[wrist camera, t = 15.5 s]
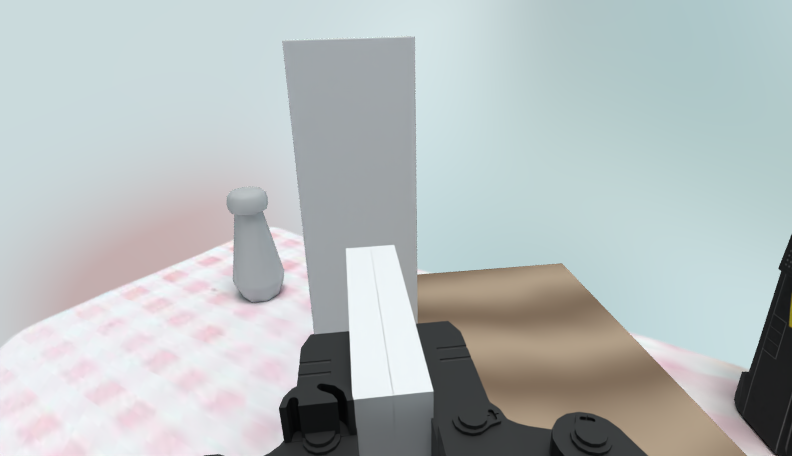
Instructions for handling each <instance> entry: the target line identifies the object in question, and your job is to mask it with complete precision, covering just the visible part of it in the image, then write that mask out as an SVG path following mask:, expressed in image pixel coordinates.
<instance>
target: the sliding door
mask: <svg viewBox="0 0 792 456" xmlns="http://www.w3.org/2000/svg"><path fill="white" fill-rule="evenodd" d="M282 43H283V51H284V61H285V69H286V79H287V89H288V98H289V107H290V116H291V125H292V135H293V143H294V152H295V162H296V171H297V180H298V190H299V199H300V208H301V217H302V226H303V236H304V245H305V254H306V263H307V273H308V282H309V291H310V300H311V309H312V319H313V328H314V334H323V333H334V332H345V331H349V309H348V286H347V263H346V248H359V247H372V246H386V245H395V249H396V253H397V257H398V260H399V264H400V268H401V272H402V275H403V279H404V283H405V287H406V290H407V294H408V298H409V301H410V305H411V309H412V313H413V316H414V320H415V324H418V305H417V209H416V109H415V108H416V107H415V37H411V36H404V37H403V36H402V37H373V38H372V37H369V38H336V39H305V40H304V39H301V40H285V41H282Z"/></svg>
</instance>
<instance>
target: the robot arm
mask: <svg viewBox="0 0 792 456" xmlns="http://www.w3.org/2000/svg"><path fill="white" fill-rule="evenodd" d="M346 263H347V286H348V309H349V331H345V332H334V333H323V334H312V335H310V336H309V338H308V339H307V341H306V342H305V343H304V345H303V346H302V347H301V354H300V365H299V372H298V381H297V387H295V388H293V389H291V390H290V391H289V392H288V393H287V394H286V395H285V396H284V397H283V400H282V402H281V404H280V407H279V411H280V417H281V424H282V430H283V436H284V441H283V442H282V443H281V445H280V446H279V447H277V448H276V449H274V450H273V451H272V452H270V453H269V454H267V455H265V456H648V455H647V454H646V453H645V452H644V451H643V450H642V449H641V448H640V447H638V446H637V445H636V444H635V443H634V442H633V441H632V440H631V439H630V438H629V437H628V436H627V435H626V434H625V433H624V432H623V431H622V430H621V429H620V428H618V427H617V426H616V425H614V424H613V423H611V422H610V421H609V420H607V419H605V418H602V417H600V416H597V415H595V414H591V413H584V412H574V413H567V414H565V415H563V416H561V417H560V418H558V419H557V420H556V422H555V424H554V425H553V427H552V429H546V428H539V427H533V426H527V425H523V424H519V423H516V422H514V421H511V420H509V419H507V418H506V417H505V415H504V414H503V412H502V411H501V410H500V408H498V407H497V406H495V405H494V404H492V403H491V402H490V401H489V399H488V397H487V394H486V392H485V389H484V387H483V384H482V382H481V380H480V377H479V375H478V372H477V370H476V367H475V365H474V362H473V360H472V359H471V355H470V353H469V350H468V348H467V347H466V343H465V341H464V338H463V336H462V333H461V331H460V330H458V329H457V328H456V327H455V326H454V325H453V324H451V323H450V322H449V321H440V322H429V323H418V324H415V320H414V316H413V313H412V309H411V305H410V301H409V298H408V294H407V290H406V287H405V283H404V279H403V275H402V272H401V268H400V264H399V260H398V257H397V253H396V249H395V245H386V246H372V247H359V248H346ZM205 456H223V455H220V454H217V455H205Z"/></svg>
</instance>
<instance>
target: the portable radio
mask: <svg viewBox="0 0 792 456" xmlns="http://www.w3.org/2000/svg"><path fill="white" fill-rule="evenodd" d="M779 270H781V274H780V277H779V280H778V283H777V286H776V290H775V293H774V296H773V299H772V302H771V305H770V309H769V312H768V315H767V318H766V322H765V324H764V327H763V331H762V334H761V337H760V340H759V344H758V346H757V349H756V352H755V356H754V358H753V361H752V364H751V367H750V370H749V372H742V374H741V377H740V381H739V384H738V387H737V390H736V394H735V399H734V400H735V403H736V406H737V409H738V410H739V412H740V413H741V415H742V416H743V417H744V418H745V420H746V421H747V422H748V423H749V424H750V425H751V426H752V428H753V429H754V430H755V431H756V432H757V433H758V434H759V436H760V437H761V438H762V439H763V440H764V441H765V442H766V444H767V445H768V446H769V447H770V448H771V449H772V450H773V452H774V453H776V454H778V455H780V456H792V235H791V238H790V240H789V243H788V245H787V248H786V250H785V253H784V256H783V258H782V261H781V263H780V266H779Z"/></svg>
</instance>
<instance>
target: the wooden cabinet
mask: <svg viewBox="0 0 792 456" xmlns="http://www.w3.org/2000/svg"><path fill="white" fill-rule="evenodd" d="M417 305H418V323H429V322H440V321H449V322H450V323H451V324H453V325H454V326H455V327H456V328H457V329H458V330H460V331H461V333H462V336H463V338H464V341H465V343H466V347H467V348H468V350H469V353H470V355H471V359H472V360H473V362H474V365H475V367H476V370H477V372H478V375H479V377H480V380H481V382H482V384H483V387H484V389H485V392H486V394H487V397H488V399H489V401H490V402H491V403H492V404H494V405H495V406H497V407H498V408H500V410H501V411H502V412H503V414H504V415H505V417H506V418H507V419H509V420H511V421H514V422H516V423H519V424H523V425H527V426H533V427H539V428H546V429H552V427H553V425H554V424H555V422H556V420H557V419H558V418H560V417H561V416H563V415H565V414H567V413H574V412H584V413H591V414H595V415H597V416H600V417H602V418H605V419H607V420H609V421H610V422H611V423H613V424H614V425H616V426H617V427H618V428H620V429H621V430H622V431H623V432H624V433H625V434H626V435H627V436H628V437H629V438H630V439H631V440H632V441H633V442H634V443H635V444H636V445H637V446H638V447H640V448H641V449H642V450H643V451H644V452H645V453H646V454H647V455H648V456H747V455H746V454H745V453H744V452H743V451H742V450H741V449H740V448H739V447H738V446H737V445H736V444H735V443H734V442H733V441H732V440H731V439H730V438H729V437H728V436H727V435H726V434H725V433H724V431H723V430H722V429H721V428H720V427H719V426H718V425H717V424H716V423H715V422H714V421H713V420H712V419H711V418H710V417H709V416H708V415H707V414H706V413H705V412H704V411H703V410H702V409H701V408H700V407H699V405H698V404H697V403H696V402H695V401H694V400H693V399H692V398H691V397H690V396H689V395H688V394H687V393H686V392H685V391H684V390H683V389H682V388H681V387H680V386H679V385H678V384H677V383H676V382H675V381H674V379H673V378H672V377H671V376H670V375H669V374H668V373H667V372H666V371H665V370H664V369H663V368H662V367H661V366H660V365H659V364H658V363H657V362H656V361H655V360H654V359H653V358H652V357H651V356H650V355H649V354H648V352H647V351H646V350H645V349H644V348H643V347H642V346H641V345H640V344H639V343H638V342H637V341H636V340H635V339H634V338H633V337H632V336H631V335H630V334H629V333H628V332H627V331H626V330H625V329H624V328H623V326H622V325H621V324H620V323H619V322H618V321H617V320H616V319H615V318H614V317H613V316H612V315H611V314H610V313H609V312H608V311H607V310H606V309H605V308H604V307H603V306H602V305H601V304H600V303H599V302H598V300H597V299H595V297H593V295H592V294H591V293H590V292H589V291H588V290H587V289H586V288H585V287H584V286H583V285H582V284H581V283H580V282H579V281H578V280H577V279H576V278H575V277H574V276H573V275H572V273H571V272H570V271H569V270H568V269H567V268H566V267H565V266H564V265H563V264H561V263H560V264H548V265H535V266H523V267H509V268H497V269H484V270H471V271H459V272H446V273H432V274H419V275H417Z"/></svg>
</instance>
